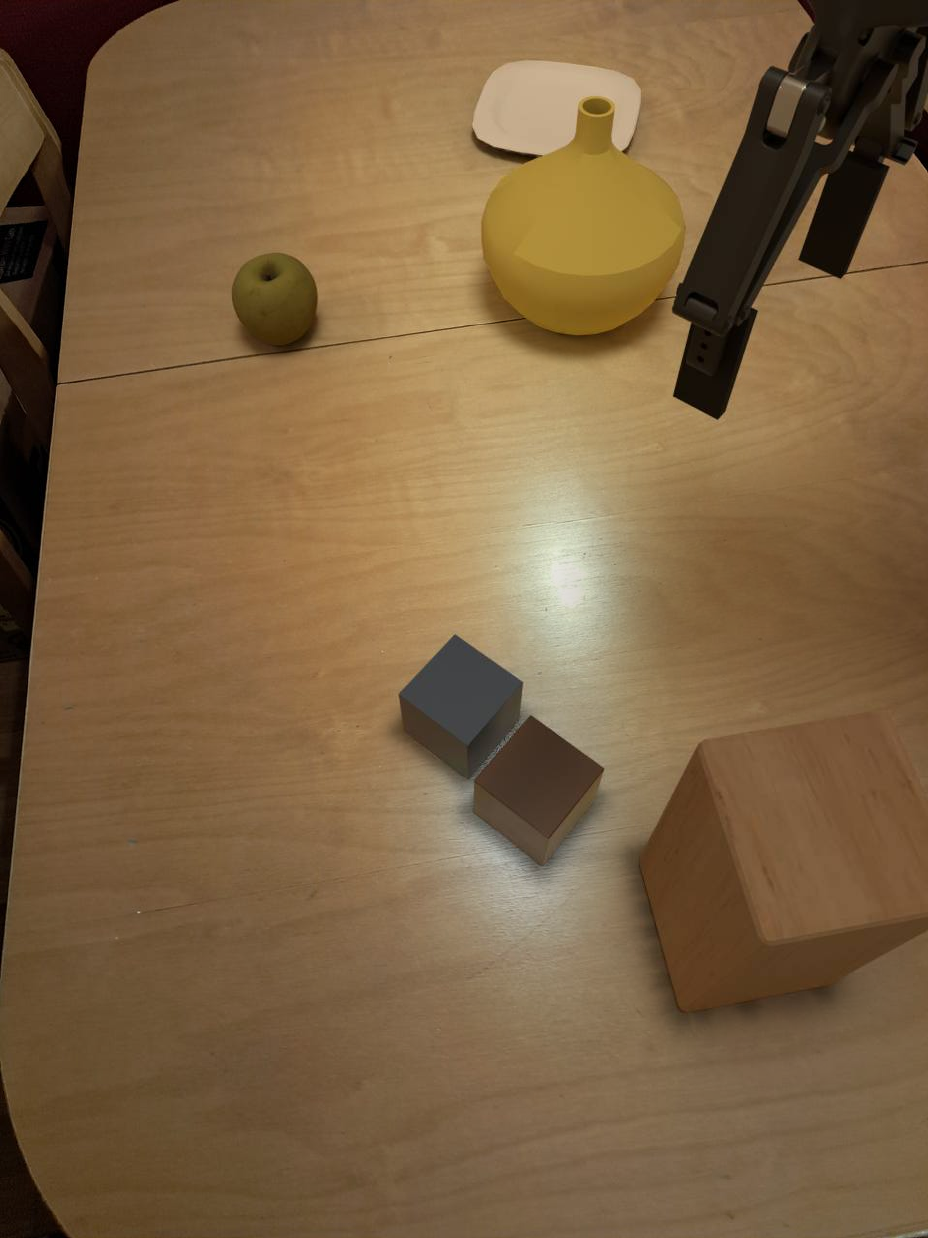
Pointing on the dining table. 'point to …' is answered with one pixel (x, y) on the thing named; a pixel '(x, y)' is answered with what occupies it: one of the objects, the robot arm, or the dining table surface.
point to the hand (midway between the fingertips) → (763, 331)
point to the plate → (549, 105)
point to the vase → (583, 232)
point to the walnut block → (536, 789)
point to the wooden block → (788, 859)
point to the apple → (275, 298)
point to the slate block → (461, 705)
